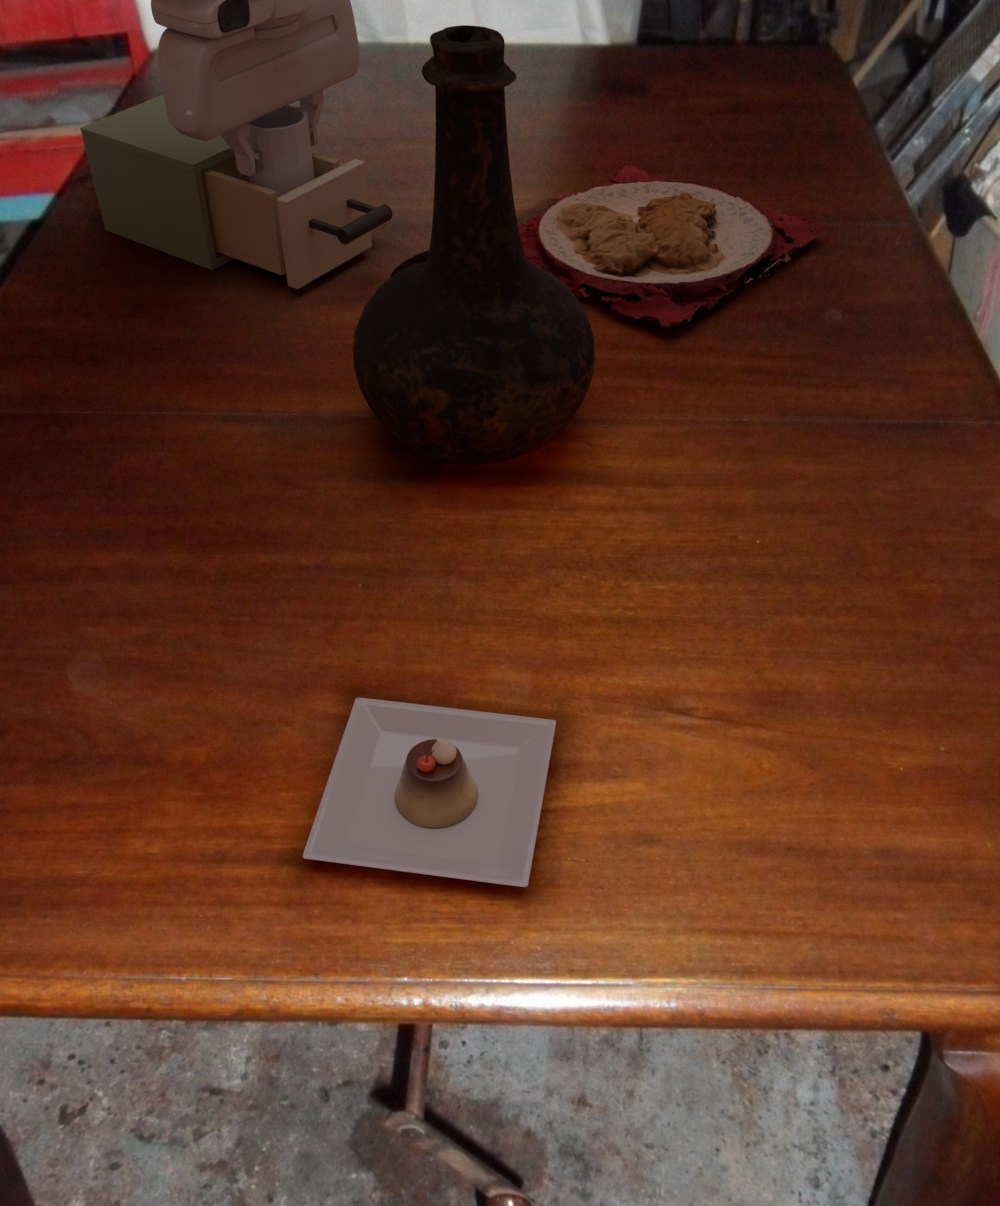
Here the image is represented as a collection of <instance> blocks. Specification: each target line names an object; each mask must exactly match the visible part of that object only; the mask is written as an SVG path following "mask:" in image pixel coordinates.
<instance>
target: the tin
mask: <svg viewBox="0 0 1000 1206" xmlns="http://www.w3.org/2000/svg"><path fill="white" fill-rule="evenodd" d="M249 131H250V134H249V135H248V136H245V138H246V140H247V141H248V143H249V145H250V146H251V148H252V149H256V150H259V151H261V153H262V163H263V167H264V168H263V170H262V171H260V172H259V173H257V174H254V175H253V176H250V177H249V179H250V183H253V184H256V185H259V186H262V187H265V188H268V189H271V190H274V191H276V192H277V198H278V197H280V196H282V195H284V194H286V193H288V192H290V191H292V190H294V189H296V188H298V187H300V186H302V185H304V184H306V183H308V182H310V181H312V180H314V179H315V177H314V169H313V160H312V152H313V151H312V147H311V142H310V133H309V124H308V116H307V112H306V111H304V110H303V109H302V108H299V106H295V105H291V104H289V105H287V106H285V107H282V108H280V109H278V110H276V111H273V112H271V113H269V114H267V115H264V116H262V117H260V118H258V119H255V120H253V121H251V122H249Z"/></svg>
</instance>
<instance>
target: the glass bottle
mask: <svg viewBox="0 0 1000 1206" xmlns="http://www.w3.org/2000/svg"><path fill="white" fill-rule="evenodd" d="M429 43H430V45H431V48H432V56H431V57H430V58H429V59H427V61H425V63H424V64H423V66H422V68H421V75H422V77H423V79H424V81H425V82H426V83H428V84H429V85H431V86H434V90H435V93H434V94H435V100H434V101H435V102H434V103H435V104H434V105H435V108H434V109H435V111H434V112H435V134H434V135H435V141H434V142H435V144H434V145H435V146H434V187H433V205H432V206H433V208H432V209H433V210H432V223H431V233H430V240H429V241H430V242H429V249H428V250H424V251H423V252H420V253H417V254H414V255H413V256H412V257H409V258H407V259H405V260H404V261H402V262H401V263H400V264H398V266H397V267H394V269H393V270H392V272H391V273H390V277H389V278H388V279H386V280H385V281H384V282H383V283H382V284H381V285H380V286H379V287H378V288H377V289H376V291H375V292H374V293H373V295H372V296H371V297H370V299H368V301H367V302H366V304H365V305H364V307H363V309H362V310H363V311H362V313H361V315H360V317H359V319H358V322H357V324H356V327H355V330H354V333H353V345H352V358H353V367H354V374H355V375H356V381H357V383H358V386H359V387H358V388H359V389H360V391H361V394H362V396H363V398H364V400H365V401H366V403H367V406H368V407H369V409H370V410H371V411H372V413H373V414H374V416H375V417H376V418H377V420H378V421H379V422H380V423H381V425H383V426H384V427H385V429H386V430H388V431H389V433H391V434H392V435H393V436H394V437H395V438H397V440H399V441H400V442H402V443H403V444H405V446H406V447H409V448H410V449H412V450H414V451H415V452H417V453H420V454H421V455H424V456H426V457H429V458H432V459H433V460H437V461H441V462H444V463H449V464H455V465H461V466H462V465H463V466H483V465H492V464H497V463H504V462H507V461H512V460H515V459H516V458H520V457H523V456H525V455H527V454H529V453H531V452H533V451H535V450H538V449H539V448H541V447H542V446H544V445H546V444H547V443H548V442H549V441H551V440H553V438H555V437H556V436H557V435H558V434H559V433H560V432H561V431H563V429H565V427H566V426H567V425H568V424H569V423H570V422H571V420H572V419H573V418H574V416H575V415H576V413H577V411H579V409H580V408H581V405H582V404H583V402H584V400H585V398H586V396H587V393H588V391H589V389H590V387H591V384H592V379H593V375H594V371H595V370H594V369H595V363H596V347H595V346H596V345H595V338H594V333H593V329H592V326H591V323H590V320H589V317H588V314H587V313H586V311H585V309H584V307H583V305H582V304H581V302H580V301H579V299H578V298H577V296H576V297H575V295H574V294H573V293H572V292H571V290H570V289H569V288H568V287H567V286H566V285H565V284H564V283H562V282H561V281H560V280H559V279H558V278H557V277H555V276H554V275H553V274H551V273H549V272H548V271H546V270H545V269H543V268H541V267H539V266H537V265H534V264H532V263H530V262H528V260H527V258H526V255H525V252H524V249H523V246H522V241H521V238H520V234H519V229H518V225H519V223H518V219H517V212H516V205H515V200H514V192H513V183H512V175H511V174H512V173H511V166H510V154H509V152H510V151H509V142H508V127H507V110H506V91H505V87H508V86H510V85H512V84H513V83H514V82H515V81H516V80H517V77H518V76H517V74H516V72H514V71H513V70H512V68H510V66H509V65H508V64H507V63H506V62H505V48H506V47H505V46H506V45H505V44H506V42H505V38H504V36H503V35H502V33H501V32H499V31H498V30H496V29H493V28H489V27H486V26H479V25H466V24H465V25H463V24H462V25H453V26H448V27H447V26H446V27H445V28H443V29H440V30H438V31H435V32H433V33H431V34H430V37H429Z"/></svg>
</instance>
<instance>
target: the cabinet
mask: <svg viewBox="0 0 1000 1206" xmlns="http://www.w3.org/2000/svg"><path fill="white" fill-rule="evenodd" d="M80 133H81V137H82V142H83V145H84V150H85V153H86V154H85V155H86V158H87V162H88V165H89V169H90V175H91V178H92V181H93V185H94V186H93V187H94V190H95V195H96V198H97V203H98V206H99V207H98V208H99V211H100V214H101V215H100V216H101V218H102V223H103V226H104V230H105V231H106V232H109V233H111V234H114V235H117V236H119V237H122V238H124V239H127V240H130V241H132V242H136V243H138V244H141V245H143V246H146V247H149V248H151V249H153V250H157V251H160V252H162V253H165V254H167V255H170V256H172V257H175V258H177V259H180V260H183V261H185V262H188V263H191V264H194V265H197V266H199V267H202V268H204V269H207V270H209V271H214V270H216V269H218V268H220V267H222V266H224V265H226V264H227V263H229V262H231V261H232V260H236V259H235V258H233V257H230V256H227V255H224V254H222V253H219V252H216V251H215V248H214V242H213V237H212V231H211V226H210V220H209V215H208V209H207V203H206V198H205V192H204V187H203V181H202V176H201V171H202V170H204V169H206V168H208V167H210V166H213V165H215V164H217V163H219V162H221V161H223V160H226V159H228V158H230V157H232V156H234V155H235V152H233V151H232V149H231V148H230V147H229V145H228V144H227V142H226V141H225V140H224V138H223V137H222V136H221V135H219V136H217V137H215V138H213V139H210V140H208V141H202V140H198V139H195V138H191V137H189V136H186V135H183V134H181V133H179V132H178V131H177V130H176V129H175V128H174V126H173V125H172V124H171V123H170V121H169V118H168V115H167V111H166V106H165V101H164V96H163V94H161V95H158V96H156V97H154V98H151V99H149V100H146V101H144V102H141V103H139V104H135V105H133V106H131V107H128V108H126V109H124V110H121V111H118V112H116V113H114V114H111V115H109V116H106V117H104V118H101V119H99V120H96V121H94V122H92V123H88V124H86V125H84V126H82V127H80Z"/></svg>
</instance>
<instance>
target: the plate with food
mask: <svg viewBox="0 0 1000 1206" xmlns="http://www.w3.org/2000/svg"><path fill="white" fill-rule="evenodd" d="M659 173H660V174H661V171H660V172H659ZM608 179H609V180H608V181H609V182H607V183H605V184H600V185H594V186H591V188H587V189H586V191H583V192H576V193H574V192H572V193H569V194H568V195H564V194H563V195H562V197H560V198H558V197H555V198H554V203H553V204H551V205H548V206H546V207H544V212H542V213H540V214H539V213H537V214H536V215H531V216H530V219H527V220H526V222H525V223H524V222H521V223H520V224H518V229H519V234H520V238H521V241H522V246H523V249H524V252H525V255H526V258H527V260H528V262H530V263H532V264H534V265H537V266H539V267H541V268H543V269H545V270H546V271H548V272H549V273H551V274H553V275H554V276H555V277H557V278H558V279H559V280H560V281H561V282H562V283H564V284H565V285H566V286H567V287H568V288H569V289H570V290H571V292H572V293H573V294H574V295H575V297H576V298H577V297H578V298H583V299H585V298H589V297H590V296H593V295H594V293H597V295H599V294H601V293H600V292H598V291H604V292H606V294H603V295H602V296H600V301H603V302H606V303H610V302H611V304H610V310H611V312H617V313H618V314H620V315H621V314H622V315H623V316H624V317H626V318H632V317H633V319H635V320H638V319H640V320H643V319H647V321H648V322H652V321H654V322H652V323H653V324H656V322H657V321H658V323H659V325H660V327H661V328H669V327H671V326H675V325H679V324H680V323H681V322H683V321H684V320H685V321H687V322H688V323H689V322H691V320H692V318H693V315H694V313H695V312H696V311H698V310H699V309H700V308H702V309H703V310H707V311H711V308H716V305H718V302H719V300H721V299H723V298H724V296H725V297H726V296H728V295H729V294H731V293H733V292H734V291H735V290H736V289H738V288H739V287H740V286H741V285H742V284H744V285H745V284H749V283H750V281H752V282H753V281H754V278H753V277H751V276H750V277H749V276H747V277H745V278H743V279H742V280H739V279H740V278H741V276H742V275H743V274H744V273H746V272H747V271H748V270H749V269H750V268H751V267H752V266H753V265H755V264H757V263H759V262H760V261H761V263H760V265H761V266H762V267H761V269H762V271H763V272H762V273H761V274H758V275H757V277H758V278H760V279H761V278H762V276H763V274H764V276H765V277H766V276H768V277H769V276H770V275H771V274H770V273H769V271H770V269H772V268H774V267H776V266H777V265H779V266H781V264H788V262H789V261H791V257H793V254H795V253H796V250H798V251H799V249H801V248H802V247H804V246H806V245H807V244H809V243H810V242H812V241H813V240H815V239H816V238H817V237H818V236H820V234H821V233H822V232H824V230H825V228H826V225H827V224H826V223H825V221H823V222H821V223H820V224H819V223H818V222H817V220H816V219H814V218H813V219H809V220H805V216H803V215H794V216H790V215H788V214H785V213H782V212H780V211H779V210H778V209H776V210H775V211H773V210H771V207H770V206H767V207H765V208H764V209H762V208H761V206H759V205H758V202H753V201H752V200H750V199H747V198H742V197H741V196H740V195H732V194H728V193H727V192H725V190H724V191H721V189H720V188H718V186H717V185H714V186H713V185H708V184H704V185H702V184H701V183H697V184H695V183H692V182H688V181H685V182H682V181H664V180H663V179H662V177H660V176H656V177H655V178H654V177H653V178H650V176H649V174H648V172H646V171H645V170H641V169H640V168H638V167H636V166H635V165H624V166H623V167H622V168H621V170H620V171H619V172H618V173H617V172H613V177H612V176H610V177H609V178H608ZM765 273H769V274H765ZM738 280H739V281H738ZM583 284H584V285H586V286H589V287H592V288H594V289H596V290H598V291H594V292H592V291H590V290H587V287H586V286H581V285H583ZM609 293H610V294H609ZM630 294H631V295H632V294H633V295H635V294H636V295H637V296H638V297H639V299H638V298H635V299H632V300H626V298H623V295H630Z"/></svg>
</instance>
